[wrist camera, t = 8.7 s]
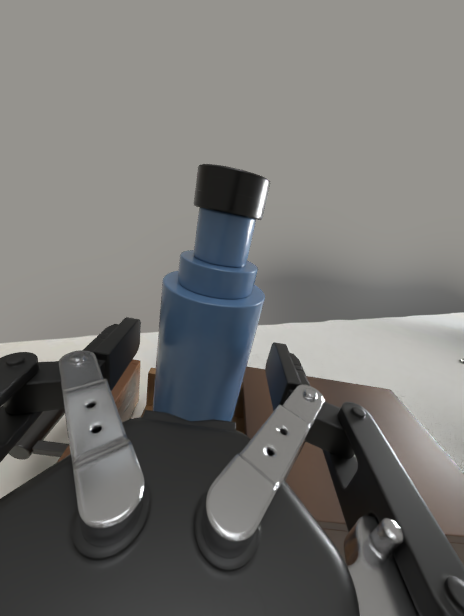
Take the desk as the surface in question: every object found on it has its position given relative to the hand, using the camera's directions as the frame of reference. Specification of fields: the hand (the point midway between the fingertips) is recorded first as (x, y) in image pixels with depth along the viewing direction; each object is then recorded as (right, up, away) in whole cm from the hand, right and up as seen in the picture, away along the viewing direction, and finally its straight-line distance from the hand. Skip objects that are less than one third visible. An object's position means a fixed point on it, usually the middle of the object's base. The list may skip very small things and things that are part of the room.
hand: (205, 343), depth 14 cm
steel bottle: (-2, -10, +6) cm, 12 cm away
